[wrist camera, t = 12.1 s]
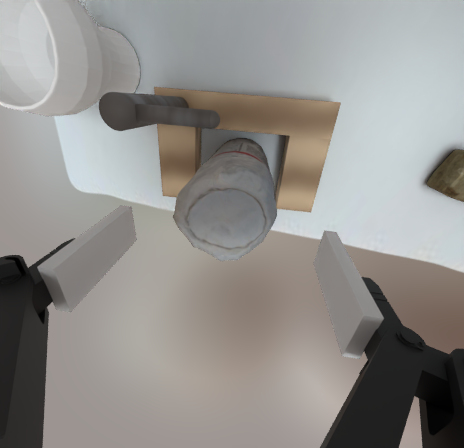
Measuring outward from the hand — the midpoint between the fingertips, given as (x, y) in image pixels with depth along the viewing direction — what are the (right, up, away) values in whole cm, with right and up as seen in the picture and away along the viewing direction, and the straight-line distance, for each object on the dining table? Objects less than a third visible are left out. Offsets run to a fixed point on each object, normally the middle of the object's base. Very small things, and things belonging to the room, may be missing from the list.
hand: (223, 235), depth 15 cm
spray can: (+2, +10, +18) cm, 21 cm away
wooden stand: (+2, +12, +17) cm, 21 cm away
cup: (-15, +22, +14) cm, 30 cm away
